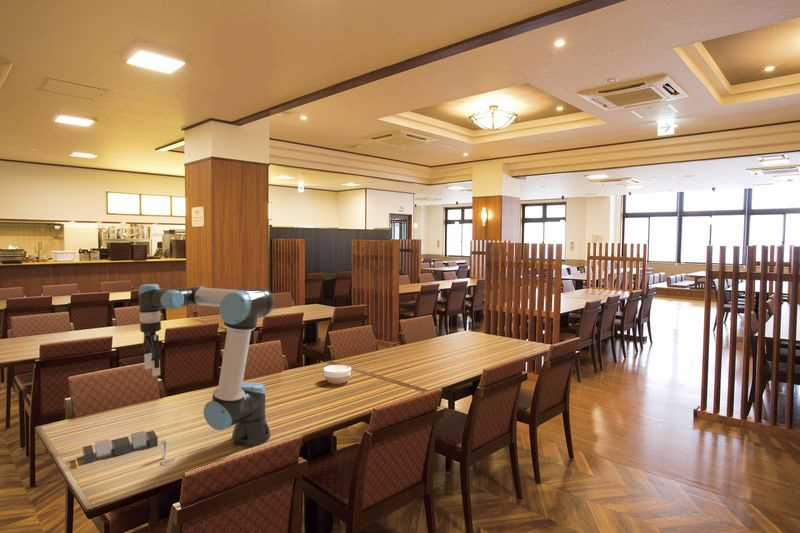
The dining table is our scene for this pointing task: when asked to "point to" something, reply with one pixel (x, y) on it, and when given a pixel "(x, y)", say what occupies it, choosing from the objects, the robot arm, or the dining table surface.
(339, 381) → the bowl
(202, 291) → the robot arm
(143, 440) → the light grey cube
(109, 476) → the dining table surface
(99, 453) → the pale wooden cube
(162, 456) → the stand
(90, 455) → the rail
